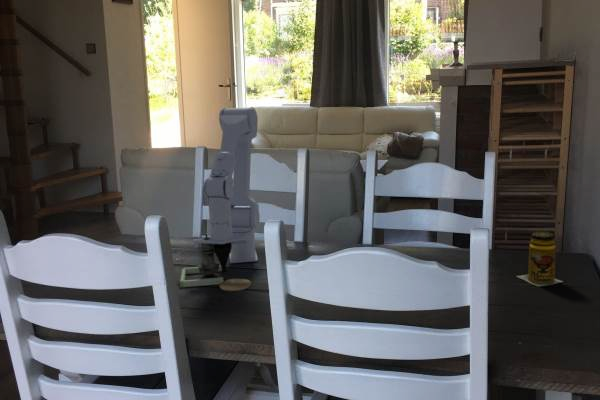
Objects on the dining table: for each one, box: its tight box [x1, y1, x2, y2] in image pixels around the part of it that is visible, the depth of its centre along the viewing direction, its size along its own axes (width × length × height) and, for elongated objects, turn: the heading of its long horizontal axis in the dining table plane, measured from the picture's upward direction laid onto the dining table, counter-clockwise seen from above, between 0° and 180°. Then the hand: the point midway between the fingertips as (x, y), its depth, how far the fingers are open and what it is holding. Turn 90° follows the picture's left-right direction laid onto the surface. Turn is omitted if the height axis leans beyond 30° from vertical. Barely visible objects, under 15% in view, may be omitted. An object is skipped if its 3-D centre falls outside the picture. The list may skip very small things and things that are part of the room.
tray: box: [179, 264, 224, 288], centre depth 162 cm, size 12×11×2 cm
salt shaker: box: [197, 234, 221, 279], centre depth 161 cm, size 6×6×12 cm
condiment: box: [516, 231, 564, 287], centre depth 150 cm, size 7×8×12 cm
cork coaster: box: [219, 278, 252, 292], centre depth 155 cm, size 8×8×1 cm
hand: (224, 270), depth 163 cm, fingers closed
